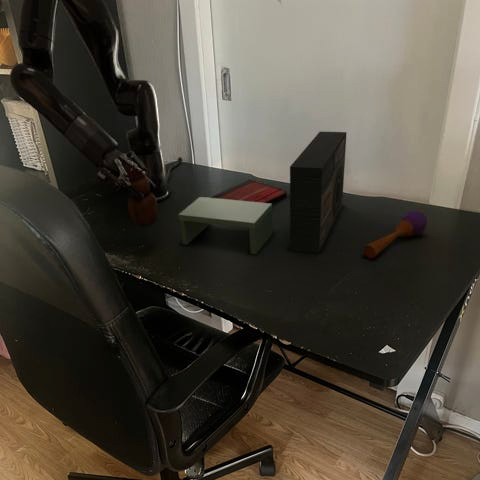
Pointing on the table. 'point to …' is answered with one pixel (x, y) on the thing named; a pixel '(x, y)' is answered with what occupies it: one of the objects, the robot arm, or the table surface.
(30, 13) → the robot arm
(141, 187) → the wooden figurine
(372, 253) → the orange and purple maraca
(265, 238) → the desk shelf
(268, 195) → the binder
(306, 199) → the cassette player
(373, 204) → the table surface
